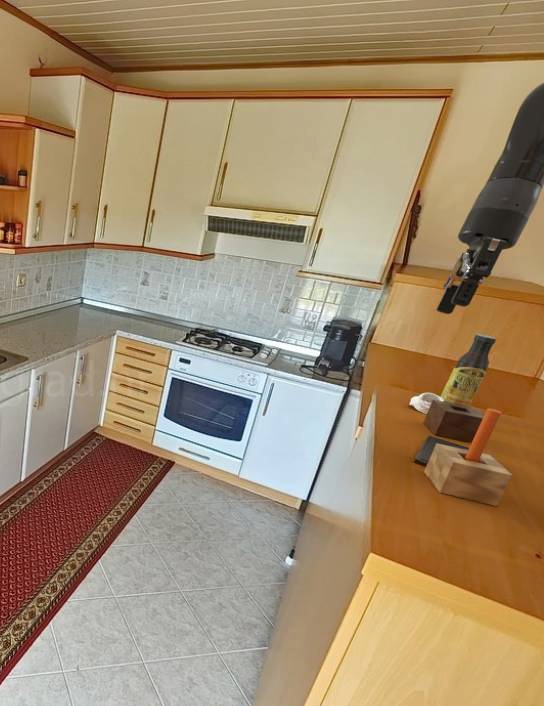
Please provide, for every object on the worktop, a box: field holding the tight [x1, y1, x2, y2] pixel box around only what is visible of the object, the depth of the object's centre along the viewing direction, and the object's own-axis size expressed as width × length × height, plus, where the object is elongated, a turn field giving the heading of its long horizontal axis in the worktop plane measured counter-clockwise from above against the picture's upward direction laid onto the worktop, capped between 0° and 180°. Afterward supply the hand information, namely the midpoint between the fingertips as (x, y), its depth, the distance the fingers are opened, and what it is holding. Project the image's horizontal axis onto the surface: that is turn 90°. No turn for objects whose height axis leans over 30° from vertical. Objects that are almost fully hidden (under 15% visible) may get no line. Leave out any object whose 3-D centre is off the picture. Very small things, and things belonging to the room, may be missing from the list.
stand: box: [423, 443, 513, 507], centre depth 85 cm, size 8×8×6 cm
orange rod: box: [464, 407, 502, 463], centre depth 83 cm, size 2×2×15 cm
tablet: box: [413, 435, 495, 467], centre depth 97 cm, size 18×11×1 cm, turn 135°
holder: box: [423, 400, 485, 444], centre depth 110 cm, size 8×8×6 cm
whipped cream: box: [409, 392, 444, 415], centre depth 124 cm, size 8×7×5 cm
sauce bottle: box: [440, 333, 497, 407], centre depth 125 cm, size 7×6×20 cm
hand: (450, 309), depth 82 cm, fingers open, 8 cm apart
